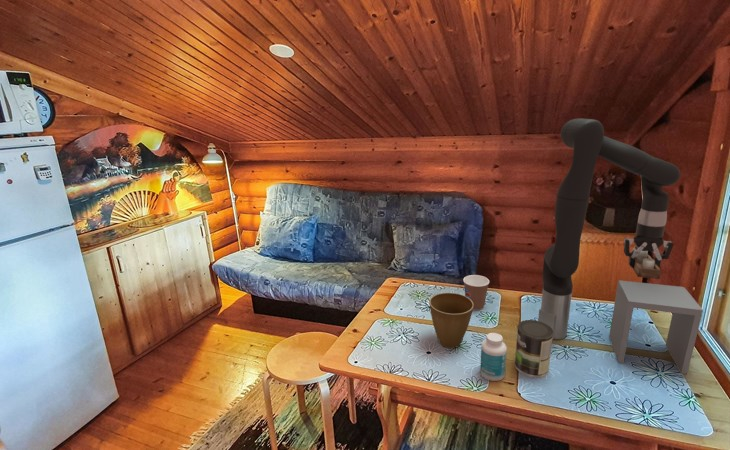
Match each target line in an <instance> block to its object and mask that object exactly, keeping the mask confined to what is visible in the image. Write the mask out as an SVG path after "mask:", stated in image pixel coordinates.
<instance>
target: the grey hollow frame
mask: <svg viewBox="0 0 730 450" xmlns="http://www.w3.org/2000/svg"><path fill="white" fill-rule="evenodd" d="M613 304H614V305H613V311H612V312H613V313H612V317H611V322H610V323H611V324H610V328H609V329H610V330H609V335H608V337H609V341H610V345H611V346H612V349H614V350H613V352H615V353H614V355H615V359H616V361H617V363H618V362H619V364H624V362H625V355H626V351H627V346H628V341H629V336H630V334H629V333H630V329H631V325H632V324H631V323H632V318H633V313H634V309H640V310H648V311H657V312H665V313H671V317H670V318H671V319H670V324H669V329H668V332H667V336H666V342H665V347H666V349H667V351H668V352H669V354H670V356H671V357H672V360H673V361H674V362H675V365H676V367H677V368H678V371H679V372H680V374H683V375H688V373H689V369H690V365H691V360H692V357H693V352H694V349H695V344H696V340H697V335H698V332H699V328H700V324H701V321H702V316H703V312H704V311H703V310H704V309H703V308H702V307H701V306H700V305H699V303H698V302H697V300H696V299H695V298H694V297H693V296H692V295H691V294H690V292H689V291H688V290H687V289H686V288H685V287H684V286H679V285H677V286H676V285H668V284H657V283H648V282H647V283H646V282H638V281H628V280H621V279H619V280H617V286H616V293H615V299H614V303H613Z"/></svg>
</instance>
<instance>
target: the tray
mask: <svg viewBox="0 0 730 450" xmlns="http://www.w3.org/2000/svg"><path fill="white" fill-rule="evenodd" d="M648 252H649V251H641V252H640V253H639V254H638V255H637V256H636V257H635V258H636V260H635V265H634V268H632V269H633V271H634V273H635V274H636V276H637V278H643V279H644V278H646V279H656V280H659V279H660V278H661V274H662V273H661V272H662V270H661V269H660V267H658V266H657V265H656V263H655V260H654V258H652V256H650V254H649V253H648ZM629 258H630V257H629V256H628V262H629Z"/></svg>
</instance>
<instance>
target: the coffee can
mask: <svg viewBox="0 0 730 450" xmlns="http://www.w3.org/2000/svg"><path fill="white" fill-rule="evenodd" d="M516 330H517V333H516V343H515V344H516V345H515V354H514V355H515V357H514V367H515V368H516V370H517V371H518V372H519V373H521V374H523V375H524V376H526V377H527V376H528V377H530V378H543V377H546V376H547V375H548V374H549V372H550V361H551V354H552V347H553V346H552V345H553V340H552V338H553V334H554V331H553V329H552V328H551V327H550V326H549V325H547V324H545V323H543V322H540V321H538V320H534V319H526V320H522V321H520V322H518V323H517V329H516Z"/></svg>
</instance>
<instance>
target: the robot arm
mask: <svg viewBox="0 0 730 450" xmlns="http://www.w3.org/2000/svg"><path fill="white" fill-rule="evenodd" d="M560 139H561V141H562V143H563V144H564V145H565V146H567V148H571V149H573V153H572V154H573V155H572V161H571V165H570V168H569V170H568V172H567V174H566V175H565V177H564V179H563V180H562V181H561V183H560V184H559V187H558V189H557V194H556V199H555V204H554V205H555V206H554V220H555V221H554V222H555V231H556V235H555V241H554V244H552V245H551V246H549V247H548V248H547V249H546V251H545V253H544V256H543V266H542V295H541V305H540V309H538V319H537V321H540V322H543V323H545V324H547V325H549V326H550V327H551V328H552V329H553V331H554V334H553V338H552V341H553V340H562V339H565V338H566V337H567V334H568V326H569V320H570V311H571V302H572V297H573V296H572V295H573V289H574V288H573V287H574V285H573V279H572V275H574V273H576V272H577V270H578V268H579V264H580V248H581V239H582V234H583V230H584V227H585V225H584V224H585V221H586V214H587V211H588V206H589V205H588V204H589V201H590V194H591V193H590V192H591V187H592V182H593V178H594V173H595V168H596V164H597V160H598V157H600V158H602V159H604V160H606V161H607V162H610V163H612V164H614V165H616V166H617V167H619V168H621V169H623V170H625V171H627V172H629V173H631V174H633V175H637V176H640V183H641V191H642V201H641V206H640V207H641V208H640V211H639V214H638V219H637V223H636V230H635V235H634V237H633V238H628V237H624V238H623V254H624V255H625V256H626V257H628V260H629V261H628V265H629V267H630V268H631V269H633V268H634V265H635V260H636V258H635V257H636V256H637V255H638V254H639V253H640V252H641V251H648V252H651V253H652V252H653V254H654V256H655V257H654V258H653V259H654V260H655V263H656V265H657V266H658V267H659V268H660V267H661V262H662V260H668V259H669V257H670V255H671V253H672V250H673V247H674V242H672V241H671V240H664V233H665V228H666V224H667V218H668V214H667V213H668V207H669V202H670V195H669V193H667V192H666V191H664V189H663V187H669V186H672V185H675V184H676V183H677V182H679V180H680V178H681V171H680V169H679V167H678V166H676V165H675V164H673V163H671V162H668V161H666V160H663V159H660V158H657V157H655V156H652V155H651V154H649V153H647V152H645V151H643V150H641V149H639V148H637V147H635V146H633V145H630V144H627V143H625V142H621V141H618V140H616V139H613V138H611V137H608V136H606V135H605V128H604V125H603V124H602V123H601V122H600V121H599V120H597V119H593V118H579V117H578V118H573V119H570V120H568V121H566V123H564V125H563V126H562V127H561V131H560ZM633 242H634V244H635V246H634V247H633V248H632V250H631V251H630V246H632V244H633ZM662 245H663V247H664V249H663V250H662V251H663V252H662V253H660V250H659V248H660V247H661V246H662ZM629 257H630V258H629Z"/></svg>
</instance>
